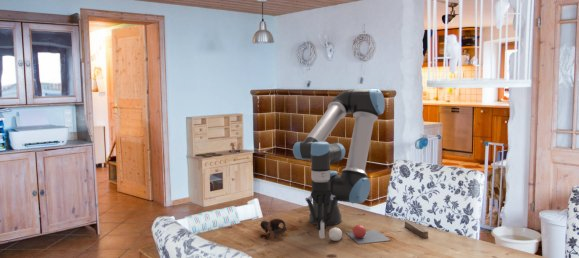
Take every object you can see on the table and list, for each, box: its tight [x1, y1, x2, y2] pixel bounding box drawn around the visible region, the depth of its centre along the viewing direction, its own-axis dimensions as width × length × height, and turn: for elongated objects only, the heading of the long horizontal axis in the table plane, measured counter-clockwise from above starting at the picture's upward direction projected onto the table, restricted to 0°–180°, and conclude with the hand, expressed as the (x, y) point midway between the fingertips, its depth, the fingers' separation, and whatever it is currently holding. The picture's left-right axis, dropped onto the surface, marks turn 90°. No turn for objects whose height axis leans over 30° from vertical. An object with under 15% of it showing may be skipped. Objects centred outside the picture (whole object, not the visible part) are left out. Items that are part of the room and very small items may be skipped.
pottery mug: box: [259, 218, 288, 239], centre depth 203 cm, size 12×10×8 cm
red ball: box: [352, 224, 367, 238], centre depth 197 cm, size 6×6×6 cm
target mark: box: [346, 229, 391, 245], centre depth 199 cm, size 14×14×1 cm
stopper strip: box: [404, 220, 429, 239], centre depth 203 cm, size 2×16×2 cm, turn 13°
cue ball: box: [328, 227, 343, 242], centre depth 195 cm, size 6×6×6 cm
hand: (321, 237), depth 194 cm, fingers closed
